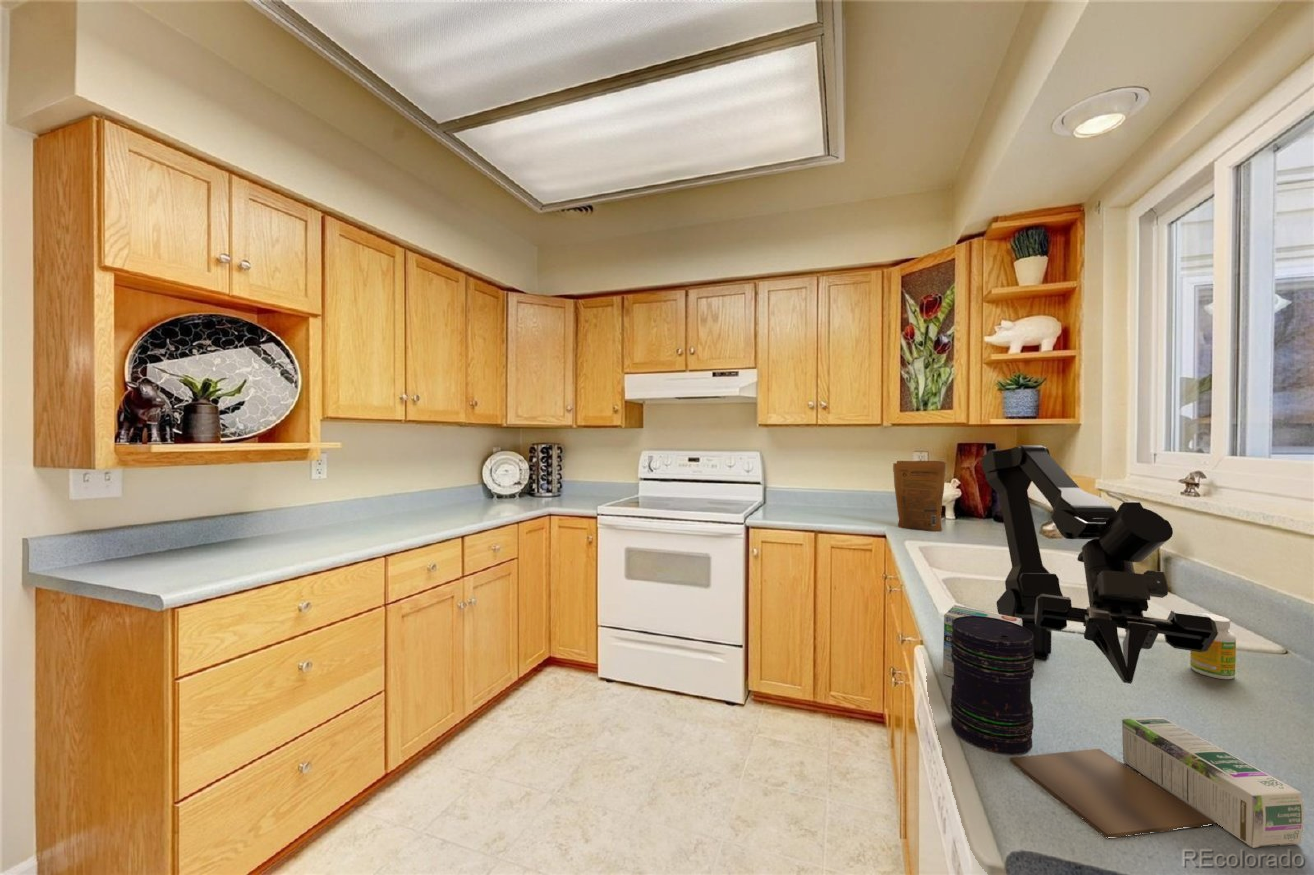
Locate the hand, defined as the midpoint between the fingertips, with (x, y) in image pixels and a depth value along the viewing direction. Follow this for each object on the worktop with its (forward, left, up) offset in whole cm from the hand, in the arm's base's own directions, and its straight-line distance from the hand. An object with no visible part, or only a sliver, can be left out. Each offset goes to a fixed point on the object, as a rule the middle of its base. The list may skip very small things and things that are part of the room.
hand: (1127, 682), depth 70 cm
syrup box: (+1, 0, -7) cm, 7 cm away
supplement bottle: (+14, +39, -10) cm, 43 cm away
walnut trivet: (-3, -10, -10) cm, 15 cm away
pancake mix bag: (-54, +144, -10) cm, 154 cm away
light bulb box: (-18, +13, -10) cm, 24 cm away
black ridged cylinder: (-15, -5, -10) cm, 18 cm away
